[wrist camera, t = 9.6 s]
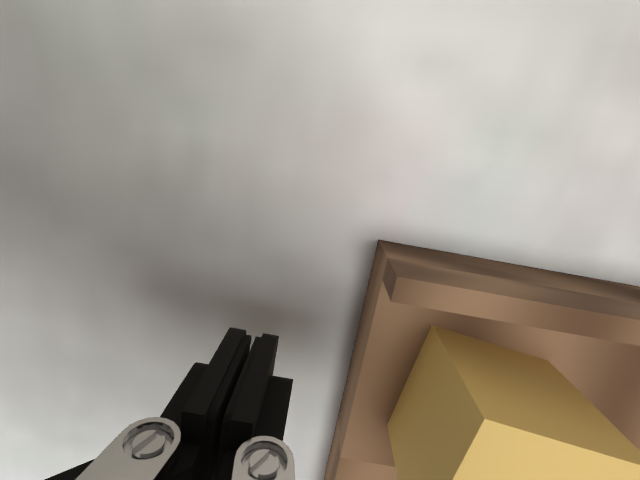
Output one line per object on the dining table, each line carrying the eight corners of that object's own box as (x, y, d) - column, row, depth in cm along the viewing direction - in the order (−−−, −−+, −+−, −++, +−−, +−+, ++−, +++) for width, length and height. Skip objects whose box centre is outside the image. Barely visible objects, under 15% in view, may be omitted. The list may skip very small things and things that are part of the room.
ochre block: (387, 424, 14) (412, 553, 9) (431, 324, 13) (484, 418, 8) (495, 456, 14) (569, 597, 10) (548, 360, 13) (660, 471, 8)
